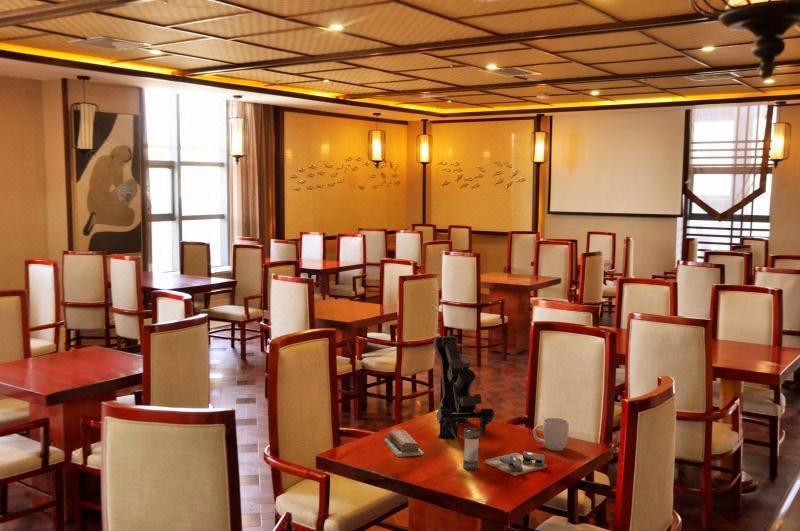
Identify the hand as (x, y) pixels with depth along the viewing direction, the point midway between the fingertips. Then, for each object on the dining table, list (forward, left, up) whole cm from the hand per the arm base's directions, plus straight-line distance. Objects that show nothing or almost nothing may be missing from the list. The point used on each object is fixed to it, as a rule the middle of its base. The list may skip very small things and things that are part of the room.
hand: (469, 438), depth 258 cm
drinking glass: (+1, -2, -10) cm, 10 cm away
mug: (+23, +30, -10) cm, 39 cm away
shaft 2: (+21, +7, -10) cm, 24 cm away
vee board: (+15, +6, -9) cm, 19 cm away
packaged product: (-27, +9, -10) cm, 30 cm away
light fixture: (-18, +49, -10) cm, 53 cm away
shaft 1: (+16, +1, -10) cm, 18 cm away
